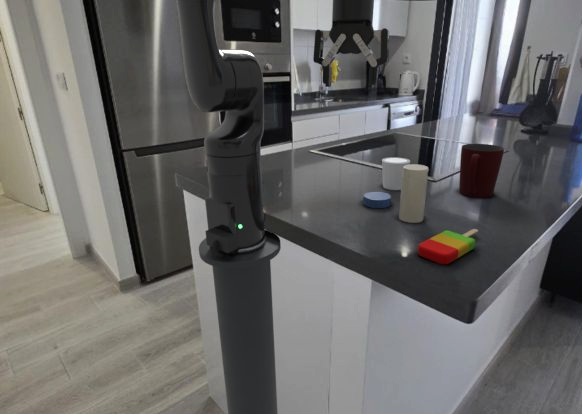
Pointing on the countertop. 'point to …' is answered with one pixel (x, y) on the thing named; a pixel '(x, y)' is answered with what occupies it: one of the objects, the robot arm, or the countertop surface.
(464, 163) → the mug
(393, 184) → the white short cylinder
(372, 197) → the lid
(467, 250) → the popsicle
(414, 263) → the countertop surface
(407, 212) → the jar
